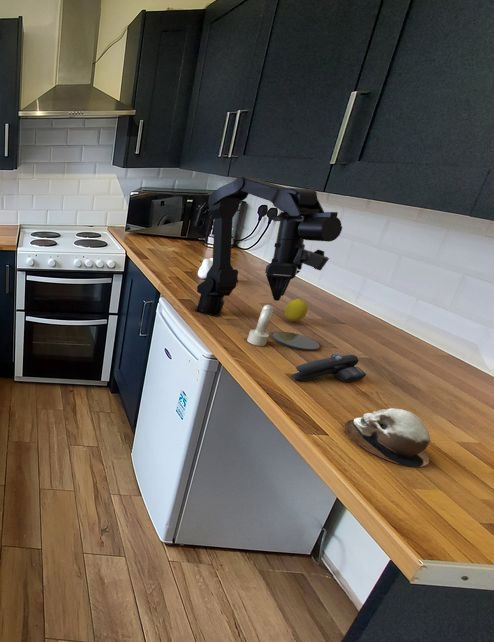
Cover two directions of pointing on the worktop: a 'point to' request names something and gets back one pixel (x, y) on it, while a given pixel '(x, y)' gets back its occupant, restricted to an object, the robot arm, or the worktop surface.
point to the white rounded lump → (205, 268)
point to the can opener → (331, 368)
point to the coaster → (295, 341)
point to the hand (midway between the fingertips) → (278, 298)
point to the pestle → (261, 328)
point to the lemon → (296, 310)
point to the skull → (392, 436)
